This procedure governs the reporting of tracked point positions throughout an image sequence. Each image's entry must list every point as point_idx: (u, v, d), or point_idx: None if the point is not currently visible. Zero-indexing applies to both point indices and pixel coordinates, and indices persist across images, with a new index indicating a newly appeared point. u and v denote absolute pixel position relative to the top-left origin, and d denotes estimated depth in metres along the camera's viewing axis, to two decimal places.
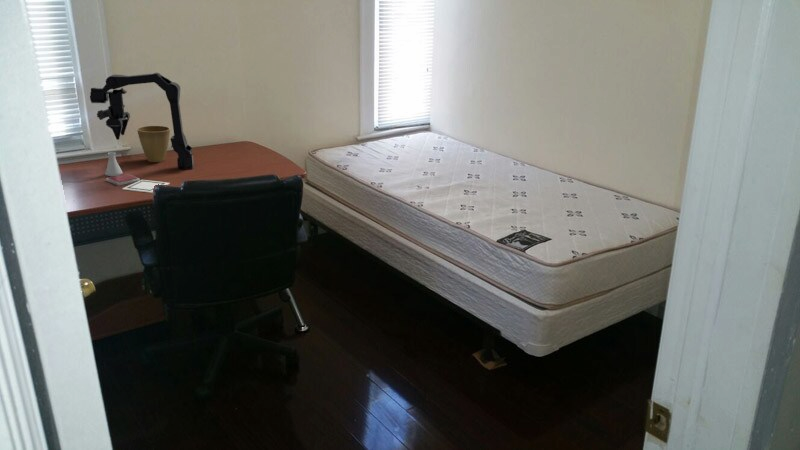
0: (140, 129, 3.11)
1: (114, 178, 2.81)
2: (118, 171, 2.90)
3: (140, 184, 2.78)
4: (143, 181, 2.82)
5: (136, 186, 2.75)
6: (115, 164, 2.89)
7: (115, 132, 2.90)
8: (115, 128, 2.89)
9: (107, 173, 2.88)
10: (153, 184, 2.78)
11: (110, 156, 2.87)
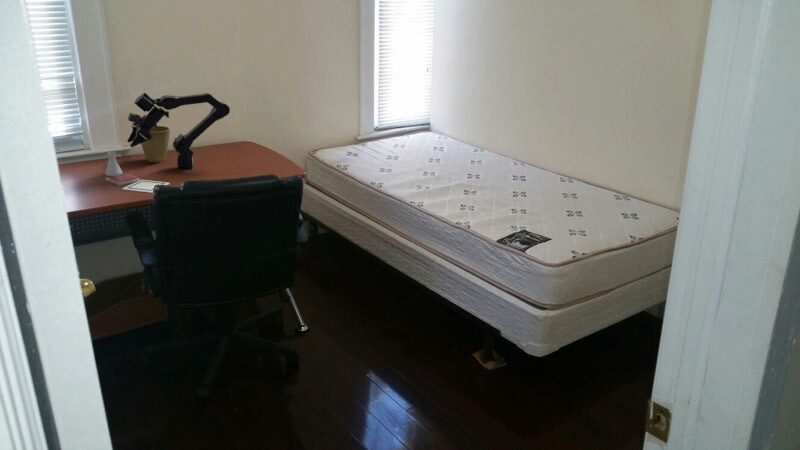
0: None
1: (114, 178, 2.81)
2: (118, 171, 2.90)
3: (140, 184, 2.78)
4: (143, 181, 2.82)
5: (136, 186, 2.75)
6: (115, 164, 2.89)
7: (135, 140, 2.86)
8: (139, 137, 2.86)
9: (107, 173, 2.88)
10: (153, 184, 2.78)
11: (110, 156, 2.87)
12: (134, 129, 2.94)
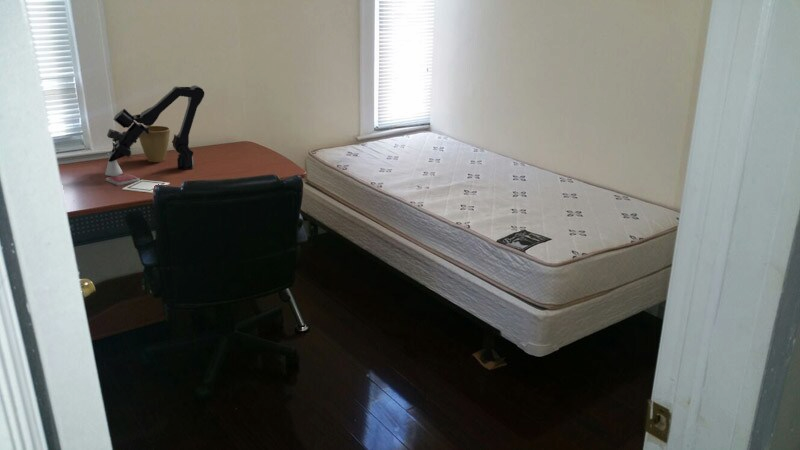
0: None
1: (114, 178, 2.81)
2: (118, 171, 2.90)
3: (140, 184, 2.78)
4: (143, 181, 2.82)
5: (136, 186, 2.75)
6: (115, 164, 2.89)
7: (114, 155, 2.86)
8: (117, 152, 2.86)
9: (107, 173, 2.88)
10: (153, 184, 2.78)
11: (110, 156, 2.87)
12: (115, 146, 2.90)
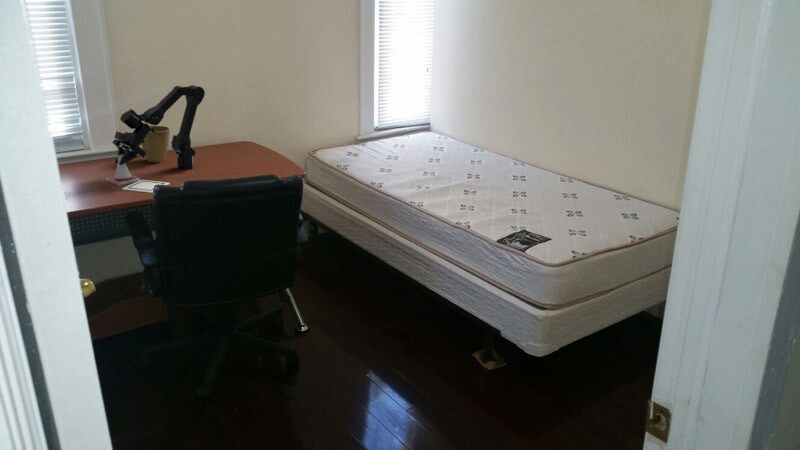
0: None
1: (114, 178, 2.81)
2: (129, 173, 2.82)
3: (140, 184, 2.78)
4: (143, 181, 2.82)
5: (136, 186, 2.75)
6: (126, 166, 2.80)
7: (125, 158, 2.78)
8: (128, 155, 2.79)
9: (118, 176, 2.79)
10: (153, 184, 2.78)
11: (120, 159, 2.78)
12: (121, 149, 2.81)
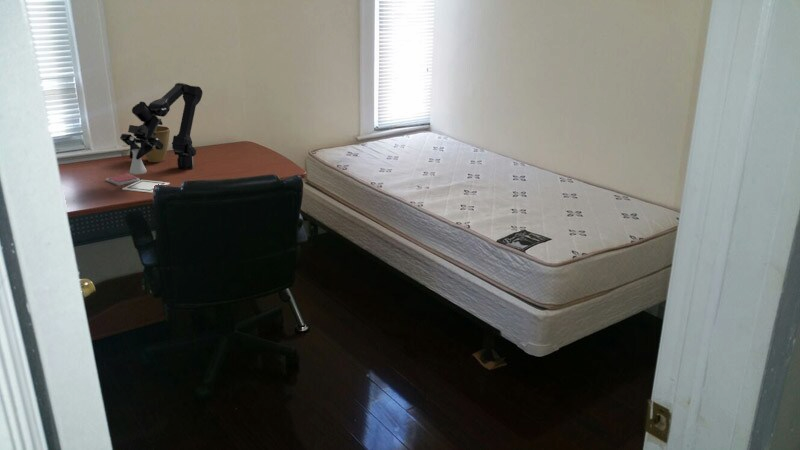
0: None
1: (114, 178, 2.81)
2: (144, 168, 2.76)
3: (140, 184, 2.78)
4: (143, 181, 2.82)
5: (136, 186, 2.75)
6: (141, 161, 2.75)
7: (142, 151, 2.72)
8: (144, 148, 2.73)
9: (136, 172, 2.73)
10: (153, 184, 2.78)
11: (136, 153, 2.72)
12: (133, 143, 2.74)
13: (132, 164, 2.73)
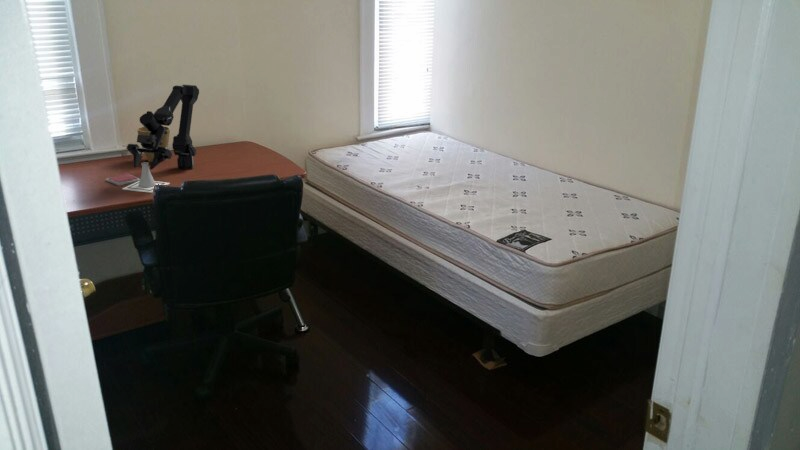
0: (140, 129, 3.11)
1: (114, 178, 2.81)
2: None
3: None
4: None
5: (136, 186, 2.75)
6: (150, 173, 2.76)
7: (155, 161, 2.72)
8: (157, 158, 2.73)
9: (146, 184, 2.74)
10: None
11: (146, 166, 2.73)
12: (137, 152, 2.74)
13: (142, 177, 2.74)
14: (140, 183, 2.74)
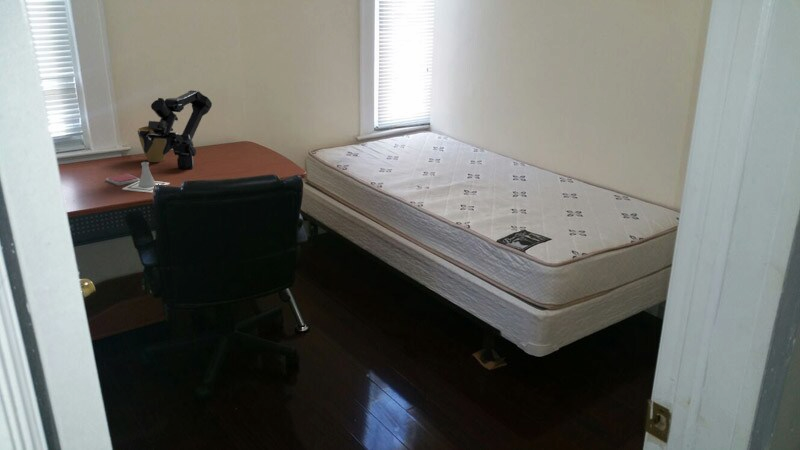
0: (140, 129, 3.11)
1: (114, 178, 2.81)
2: None
3: None
4: None
5: (136, 186, 2.75)
6: (150, 173, 2.76)
7: (168, 147, 2.79)
8: (169, 143, 2.80)
9: (146, 184, 2.74)
10: None
11: (146, 166, 2.73)
12: (147, 138, 2.82)
13: (142, 177, 2.74)
14: (140, 183, 2.74)
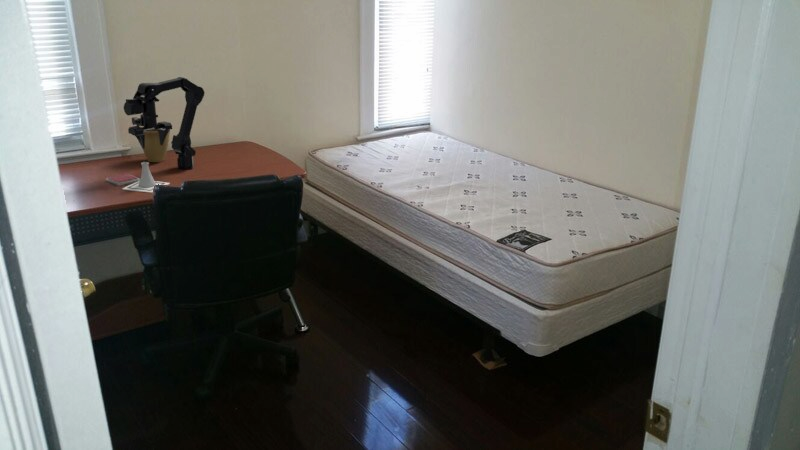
0: None
1: (114, 178, 2.81)
2: None
3: None
4: None
5: (136, 186, 2.75)
6: (150, 173, 2.76)
7: (139, 141, 2.83)
8: (139, 137, 2.82)
9: (146, 184, 2.74)
10: None
11: (146, 166, 2.73)
12: (159, 131, 2.91)
13: (142, 177, 2.74)
14: (140, 183, 2.74)
